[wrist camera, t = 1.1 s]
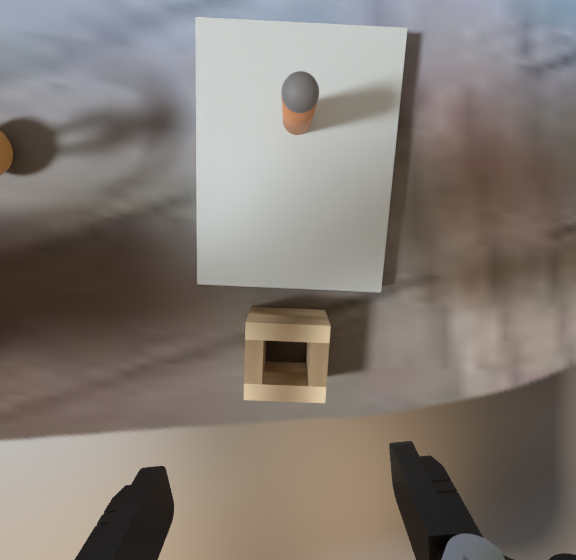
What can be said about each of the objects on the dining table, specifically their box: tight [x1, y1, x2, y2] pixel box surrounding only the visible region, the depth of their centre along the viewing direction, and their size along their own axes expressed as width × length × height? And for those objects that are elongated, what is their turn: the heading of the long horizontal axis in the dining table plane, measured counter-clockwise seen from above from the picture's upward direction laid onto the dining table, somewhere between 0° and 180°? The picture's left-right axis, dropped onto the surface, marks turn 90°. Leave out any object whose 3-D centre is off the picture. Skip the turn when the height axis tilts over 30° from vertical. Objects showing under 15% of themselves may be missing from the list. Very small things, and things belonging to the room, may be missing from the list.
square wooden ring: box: [244, 307, 331, 403], centre depth 28 cm, size 6×6×4 cm
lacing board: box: [196, 17, 408, 292], centre depth 23 cm, size 14×18×8 cm
